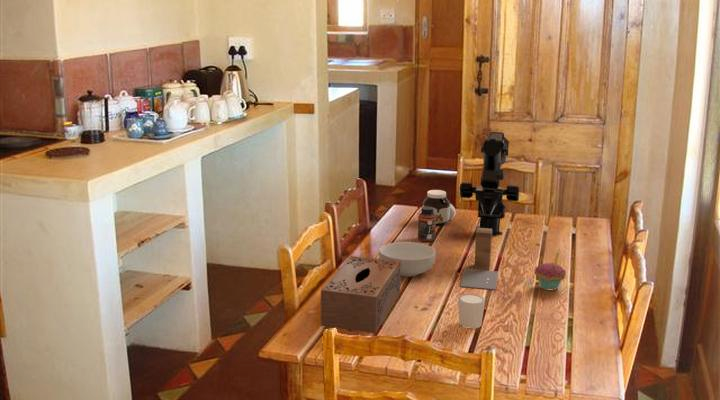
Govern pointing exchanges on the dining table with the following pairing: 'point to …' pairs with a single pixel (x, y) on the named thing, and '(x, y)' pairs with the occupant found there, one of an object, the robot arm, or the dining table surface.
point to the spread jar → (439, 206)
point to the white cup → (471, 310)
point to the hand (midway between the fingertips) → (487, 214)
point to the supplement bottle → (426, 224)
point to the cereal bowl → (409, 256)
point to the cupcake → (550, 274)
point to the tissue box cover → (360, 294)
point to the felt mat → (479, 279)
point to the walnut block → (483, 249)
